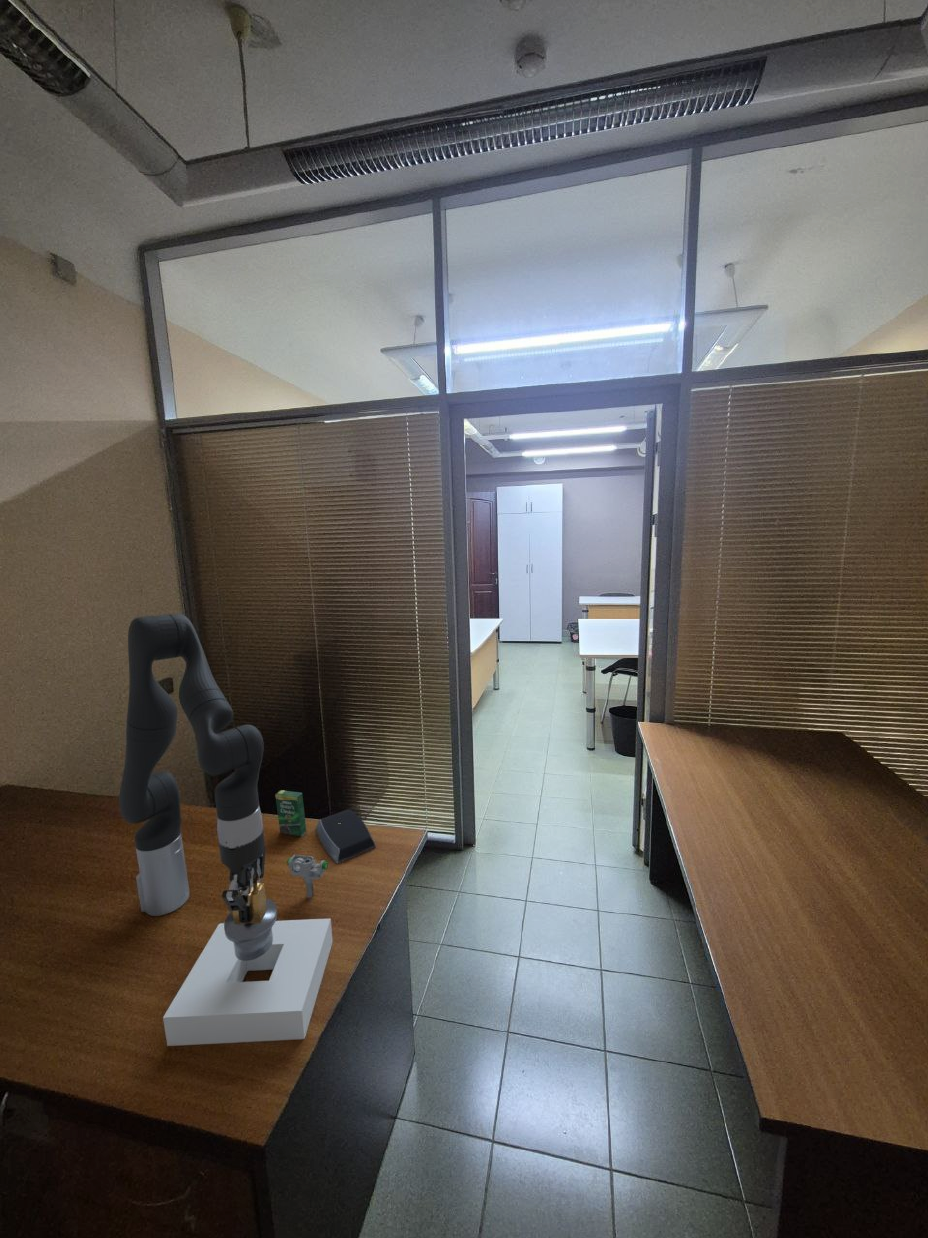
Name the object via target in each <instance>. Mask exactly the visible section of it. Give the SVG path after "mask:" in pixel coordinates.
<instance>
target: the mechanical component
mask: <svg viewBox="0 0 928 1238" xmlns="http://www.w3.org/2000/svg"><path fill="white" fill-rule="evenodd" d="M286 864H287V865H288V868H289V873H290V874H291V875H292V876H293V877H302V878H303V879H302V880H303V882H304V883H305V888H306V897H307V898H308V899H312V898H313V895H314V894H315V893H314V884H313V883H314V880H315V879H316V880H319V879H321V878H322V876H323V875H324V874H325V872H326V871H327V869H328V867H329V862H327V861H326V860H324V859H323V860H321V861H320V863H317V862H316V860H315V859H314V857H313V856H312V855H302V854H293V855H292V857H288V858H287V860H286Z"/></svg>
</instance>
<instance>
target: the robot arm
mask: <svg viewBox="0 0 928 1238" xmlns="http://www.w3.org/2000/svg"><path fill="white" fill-rule="evenodd" d="M127 634H128V635H127V649H128V651H127V652H128V653H127V655H128V673H129V674H128V676H129V682H128V683H129V686H128V687H129V689H128V690H129V691H128V702H127V704H128V705H127V712H126V713H127V714H126V731H125V740H126V741H125V757H124V766H123V767H124V768H123V771H122V772H123V773H122V777H121V782H120V788H119V794H118V795H119V798H118V801H119V802H118V805H119V809H120V813H121V816H122V818H123V819H124V821H126V822H127V823H129V824H133V825H134V824H135V825H136V824H140V823H143V822H145V821H146V822H145V823H144V824H142V826H141V827H139V829H138V830H137V831H136V833H135V834H134V838H133V839H134V846H135V851H136V858H137V864H138V869H139V870H138V871H139V873H138V874H137V875H136V876H135V877H136V878H135V881H136V886H137V891H138V897H139V903H140V908H141V909H140V910H141V912H142V913H146V914H147V915H149V916H151V917H159V916H164V915H167V914H170V913H172V912H174V911H176V910H178V909H179V908H181V907H182V906H183V905H185V903H186V902H187V901H188V900H189V898H190V887H189V880H188V873H187V872H188V871H187V866H186V865H187V864H186V858H185V852H184V844H183V838H182V837H183V836H182V831H181V826H182V813H181V798H180V797H181V796H180V789H179V785H178V782H177V780H176V777H175V776H174V775H173V774H172V773H171V772H169V771H167V770H161V771H157V772H154V769H155V767H156V766H157V764H158V763H159V762H160V761H161V759H162V757H163V756H164V755H165V754H166V752H167V750H169V747H171V746H170V745H171V744H172V742H173V741H174V739H175V736H176V732H177V725H178V724H177V723H178V714H179V713H178V706H177V704H176V702H175V701H174V700H173V698H172V697H171V695H170V694H169V693H168V692H167V690H165V689H164V688H163V686H161V684H159V682H158V681H157V679H156V678H155V676H154V673H153V669H152V668H153V663H154V662H155V661H161V660H169V659H175V658H180V657H181V658H182V659H183V660H184V661H185V670H184V673H183V676H182V679H181V681H180V685H179V689H178V700H179V703H180V706H181V709H182V711H183V712H184V714H185V716H186V717H187V719H188V721H189V723H190V726H191V727H192V729H193V734H194V736H195V742H196V748H197V749H196V750H197V759H198V765H199V766H200V769H201V770H202V771H203V772H205V773H206V774H208V775H210V776H220V775H223V774H226V773H229V772H230V771H233V770H234V771H233V772H232V773H231V774H230V775H228V776H227V777H225V778H224V779H223V780H221V781H219V783H217V785H216V786H215V789H214V801H215V807H216V809H215V810H216V821H217V822H216V831H217V839H218V847H219V854H220V855H219V856H220V861H221V864H223V865H224V866H225V867H226V868H228V869H229V883H230V884H229V886H228V889H227V890H225V889H224V890H223V891H222V893H221V898H222V900H223V901H224V903H225V905H226V906H227V908H228V910H229V912H232V911H238V912H239V921H240V922H241V923H248V922H251V920H252V919H253V915H252V906H251V892H252V890H253V883H262V882H261V879H263V878H264V876H265V864H266V863H265V861H266V849H267V847H266V842H265V833H264V826H263V825H264V823H263V816H262V815H263V814H262V812H261V808H260V801H259V791H258V790H259V789H258V782H259V778H260V777H259V776H260V772H261V771H260V770H261V764H262V761H263V757H264V746H265V744H264V739H263V736H262V732H261V731H260V730H259V729H258V728H257V727H256V726H254V725H252V724H243V725H240V726H239V725H238V726H235V727H233V728H230V729H227V730H226V729H225V728H226V727H228V726H229V725H230V724H231V723H232V721H233V718H234V710H233V709H232V706H231V705H230V703H229V701H228V700H227V698H226V697H225V695H224V694H223V691H222V690H221V688H220V687H219V686H218V684H217V682H216V680H215V678H214V676H213V673H212V671H211V668H210V666H209V665H210V664H209V662H208V659H207V657H206V654H205V651H204V648H203V646H202V643H201V641H200V639H199V635H198V633H197V630H196V629H195V627H194V625H193V623H192V621H191V620H190V619H189V618H188V617H187V616H185V615H184V614H180V613H177V614H176V613H175V614H174V613H172V614H171V613H170V614H169V613H168V614H160V615H159V614H157V615H155V614H154V615H147V616H138V617H135V618H133V620H131V621H130V624H129V626H128V633H127ZM224 729H225V730H224ZM222 730H223V731H222ZM152 772H154V773H152ZM246 886H248V887H246ZM242 895H245V899H243V897H242Z"/></svg>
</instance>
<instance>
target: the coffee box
mask: <svg viewBox="0 0 928 1238" xmlns="http://www.w3.org/2000/svg"><path fill="white" fill-rule="evenodd" d="M274 796H275V803H276V810H277V818H278V820H277V821H278V827H279V833H280V834H283V835H284V834H285V835H290V836H296V837H303V836H304V835H306V833H307V827H306V826H307V824H306V817H305V815H306V814H305V807H304V798H303V793H302V792H298V791H290V790H284V789H283V790H282V789H281V790H278V791H277V793H275V795H274Z"/></svg>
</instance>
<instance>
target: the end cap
mask: <svg viewBox="0 0 928 1238" xmlns="http://www.w3.org/2000/svg"><path fill="white" fill-rule="evenodd" d="M246 887H248V886H246ZM265 889H266V887H265V883H264V882H261V883H253V890H252V892H251V906H252V915H253V919H252V920H251V922H248V923H241V922H240V921H239V912H238V911H230V913H228V915H227V917H226V919H225V921H224V922H223V923H224V930H225V936H226V937H227V939H228V940H230V941H232V942H234V950H235V956H236V957H237V958H238V959H239V960H242V961H249V960H253V959H256V958H258V957H260V956H262V955H263V954H264V953H266V952H267V951H268V949H269V948H270V947H271V945H272V942H273V934H272V926H273V925H274V923H275V921H277V918H278V908H277V905H276V903H275V902H274V901H273V900H271V899H268V898H267V897H266V890H265ZM242 897H243V899H245V895H242Z"/></svg>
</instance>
